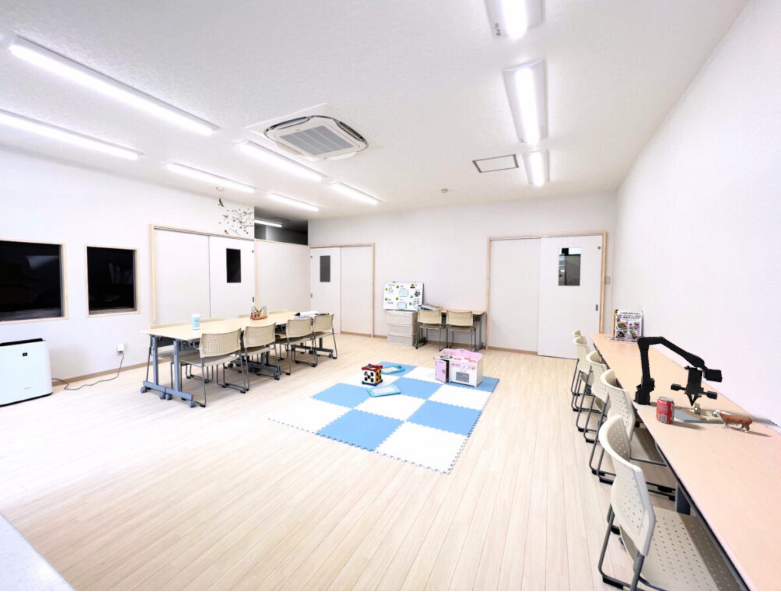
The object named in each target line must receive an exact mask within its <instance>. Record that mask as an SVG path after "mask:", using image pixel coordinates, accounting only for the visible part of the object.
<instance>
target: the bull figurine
mask: <svg viewBox="0 0 781 592" xmlns="http://www.w3.org/2000/svg"><path fill="white" fill-rule="evenodd" d="M714 411H715V412H713V414H716V415H717V416H718V417H719V418H720V420H721V421H722V422H724V423H723V426H721V428H722V429H725V428H729V426H730V425H729V424H728V423H731V424H732V425H735V426H736V427H738V426H739V425H741V426H740V427H738V428H737V430H738V431H743V429H745V430H744V433H745V434H749V433H750V429H751V428H750V425H752V424H753V419H751V418H750V417H745V416H740V415H734V414H732V413H728V412H726V411H723V410H720V409H716V410H714Z"/></svg>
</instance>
